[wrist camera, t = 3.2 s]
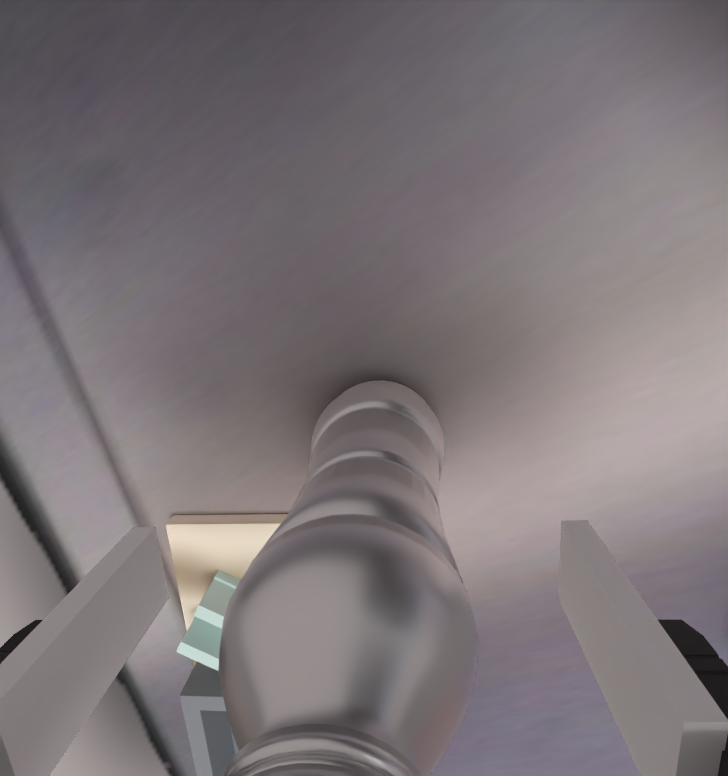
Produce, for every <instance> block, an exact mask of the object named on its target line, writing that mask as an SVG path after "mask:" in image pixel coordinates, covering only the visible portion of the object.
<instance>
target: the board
mask: <svg viewBox="0 0 728 776" xmlns="http://www.w3.org/2000/svg"><path fill="white" fill-rule="evenodd" d="M287 515H288V514H242V515H174V516H173V517H172V518H171V519H170V520H169V521H168V522H167V524H166V529H167V534H168V539H169V544H170V549H171V554H172V559H173V564H174V569H175V574H176V579H177V584H178V589H179V594H180V599H181V604H182V609H183V614H184V619H185V624H186V629H187V630H188V628H189V627H190V625H191V623H192V621H193V620H194V618H195V616H194V613H195V611H196V609H197V607H198V605H199V603H200V602H201V600H202V598H203V596H204V595H205V593H206V591H207V590H208V588H209V586H210V584H211V583H212V581H213V579H214V577H215V575H216V574H217V572H218V570H221V571H223V572H225V573H227V574H229V575H231V576H233V577H235V578H238V579H240V580H241V579H242V577H243V576H244V574H245V573H246V571H247V569H248V567H249V566H250V564H251V562H252V561H253V559H254V558H255V557H256V556H257V555H258V553H259V552H260V550H261V549H262V548H263V546H264V545H265V544H266V542H267V541H268V540H269V538H270V537H271V536H272V535H273V533H274V532H275V531H276V529H277V528H278V527H279V525H280V524H281V523H282V521H283V520H284V519H285V517H286V516H287ZM192 660H193V659H192ZM196 662H197V661H195V660H193V665H194V666H195V664H196Z"/></svg>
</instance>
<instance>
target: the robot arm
mask: <svg viewBox="0 0 728 776" xmlns="http://www.w3.org/2000/svg"><path fill="white" fill-rule="evenodd" d="M168 598H169V594H168V589H167V584H166V579H165V574H164V569H163V564H162V559H161V554H160V549H159V544H158V539H157V534H156V529H155V527H133V528H132V529H131V530H130V531H129V532H128V533H127V534H126V535H125V536H124V537H123V538H122V539H121V541H120V542H119V543H118V544H117V545H116V546H115V547H114V548H113V549H112V550H111V551H110V552H109V553H108V554H107V555H106V556H105V557H104V558H103V559H102V560H101V561H100V562H99V563H98V564H97V565H96V566H95V567H94V568H93V569H92V570H91V571H90V572H89V573H88V574H87V575H86V576H85V577H84V578H83V580H82V581H81V582H80V583H79V584H78V585H77V586H76V587H75V588H74V589H73V590H72V591H71V592H70V593H69V594H68V595H67V596H66V597H65V598H64V599H63V600H62V601H61V602H60V603H59V604H58V605H57V606H56V607H55V608H54V609H53V610H52V611H51V613H49V614H48V615H47V617H46V618H45V619H44V620H35V621H33V622H32V623H30V624H29V625H27V626H26V627H25V628H23V629H21V630H20V631H19V632H17V633H15V634H14V635H13V636H12V637H11V638H10V639H9V640H8V641H7V642H6V643H5V644H4V645H3V646H2V647H1V648H0V776H49V775H50V774H51V772H52V771H53V770H54V768H55V767H56V765H57V763H58V762H59V760H60V759H61V758H62V756H63V755H64V753H65V752H66V750H67V749H68V747H69V746H70V744H71V743H72V741H73V740H74V738H75V737H76V735H77V734H78V732H79V731H80V729H81V728H82V726H83V725H84V723H85V722H86V720H87V719H88V717H89V716H90V714H91V713H92V711H93V710H94V708H95V707H96V705H97V704H98V702H99V701H100V700H101V698H102V697H103V695H104V694H105V692H106V691H107V689H108V688H109V686H110V685H111V683H112V681H113V680H114V679H115V677H116V676H117V674H118V673H119V671H120V670H121V668H122V667H123V665H124V664H125V662H126V661H127V659H128V658H129V656H130V655H131V653H132V652H133V650H134V649H135V647H136V646H137V644H138V643H139V641H140V640H141V638H142V637H143V635H144V634H145V633H146V631H147V630H148V628H149V627H150V625H151V624H152V622H153V621H154V619H155V618H156V616H157V615H158V613H159V612H160V610H161V609H162V607H163V606H164V604H165V603H166V601H167V600H168ZM558 598H559V600H560V602H561V605H562V607H563V609H564V611H565V613H566V615H567V618H568V620H569V622H570V624H571V626H572V628H573V631H574V633H575V635H576V637H577V639H578V641H579V644H580V646H581V648H582V650H583V652H584V654H585V657H586V659H587V661H588V663H589V665H590V667H591V670H592V672H593V674H594V676H595V678H596V680H597V683H598V685H599V687H600V689H601V691H602V693H603V696H604V698H605V700H606V702H607V704H608V706H609V709H610V711H611V713H612V715H613V717H614V719H615V722H616V724H617V726H618V728H619V730H620V732H621V735H622V737H623V739H624V741H625V743H626V745H627V748H628V750H629V752H630V754H631V756H632V758H633V761H634V763H635V765H636V767H637V769H638V771H639V774H640V776H728V666H727V665H726V664H725V663H724V661H723V660H722V659H719V656H718V654H717V653H716V651H715V650H714V649H713V648H712V646H711V645H710V644H709V643H708V641H707V640H706V639H705V638H704V636H703V635H701V634H700V633H699V632H697V631H696V630H695V629H693V628H692V627H691V626H689V625H688V624H686V623H685V622H684V621H682V620H657V619H656V617H655V616H654V614H653V613H652V611H651V610H650V609H649V607H648V606H647V604H646V603H645V601H644V600H643V599H642V597H641V596H640V594H639V593H638V592H637V590H636V589H635V587H634V586H633V584H632V583H631V582H630V580H629V579H628V577H627V576H626V574H625V573H624V572H623V570H622V569H621V567H620V566H619V565H618V563H617V562H616V560H615V559H614V557H613V556H612V555H611V553H610V552H609V550H608V549H607V548H606V546H605V545H604V543H603V542H602V540H601V539H600V538H599V536H598V535H597V533H596V532H595V530H594V529H593V528H592V526H591V525H590V523H589V522H588V521H587V520H576V521H562V525H561V543H560V562H559V580H558Z"/></svg>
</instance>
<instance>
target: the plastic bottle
mask: <svg viewBox="0 0 728 776" xmlns="http://www.w3.org/2000/svg"><path fill="white" fill-rule="evenodd" d="M443 458H444V437H443V433H442V428H441V425H440V423H439V421H438V419H437V417H436V415H435V414H434V412H433V411H432V410H431V408H430V407H429V406H428V404H427V403H426V402H425V400H424V399H423V398H422V397H421V396H419V395H418V394H417V393H416V392H415V391H413V390H411V389H410V388H408V387H406V386H404V385H401V384H398V383H395V382H391V381H383V380H379V381H368V382H364V383H361V384H357V385H355V386H353V387H351V388H349V389H347V390H346V391H345V392H343V393H342V394H341V395H339V396H338V397H337V398H336V399H334V400H333V401H332V402H331V403H330V404H329V405H328V406H327V407H326V408H325V410H324V411H323V412H322V414H321V415H320V417H319V419H318V421H317V423H316V426H315V429H314V432H313V435H312V441H311V447H310V457H309V468H308V472H307V476H306V480H305V484H304V486H303V488H302V490H301V491H300V493H299V495H298V497H297V499H296V501H295V502H294V504H293V506H292V508H291V510H290V512H289V513H288V515H287V516H286V517H285V519H284V520H283V521H282V523H281V524H280V525H279V527H278V528H277V529H276V531H275V532H274V533H273V535H272V536H271V537H270V538H269V540H268V541H267V542H266V544H265V545H264V546H263V548H262V549H261V550H260V552H259V553H258V555H257V556H256V557H255V558H254V559H253V561H252V562H251V564H250V566H249V567H248V569H247V571H246V573H245V574H244V576H243V577H242V579H241V580H240V582H239V584H238V586H237V587H236V589H235V591H234V593H233V594H232V596H231V598H230V600H229V602H228V606H227V609H226V612H225V616H224V619H223V626H222V634H221V642H220V650H219V668H218V673H219V678H220V684H221V689H222V694H223V699H224V703H225V708H226V712H227V717H228V721H229V725H230V728H231V731H232V734H233V736H234V739H235V742H236V744H237V747H238V750H239V752H238V753H237V754H236V755H235V756H234V757H233V759H232V760H231V762H230V763H229V765H228V766H227V768H226V770H225V773H224V776H429V775H430V774H431V772H432V771H433V770H434V768H435V767H436V766H437V764H438V763H439V762H440V760H441V759H442V757H443V755H444V753H445V752H446V750H447V748H448V746H449V744H450V743H451V741H452V739H453V737H454V735H455V734H456V732H457V730H458V728H459V726H460V724H461V723H462V721H463V719H464V717H465V715H466V713H467V711H468V707H469V703H470V699H471V695H472V691H473V686H474V680H475V674H476V669H477V663H478V634H477V630H476V626H475V622H474V618H473V614H472V610H471V607H470V603H469V599H468V595H467V591H466V589H465V587H464V585H463V581H462V579H461V576H460V574H459V571H458V568H457V566H456V563H455V560H454V558H453V555H452V553H451V550H450V547H449V545H448V542H447V539H446V537H445V534H444V529H443V525H442V520H441V516H440V510H439V506H438V482H439V479H440V476H441V470H442V465H443Z"/></svg>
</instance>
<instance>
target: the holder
mask: <svg viewBox="0 0 728 776" xmlns="http://www.w3.org/2000/svg"><path fill="white" fill-rule="evenodd" d="M180 700H181V704H182V709H183V714H184V719H185V723H186V728H187V733H188V737H189V742H190V747H191V751H192V756H193V761H194V765H195V770H196V775H197V776H224V773H225V770H226V768H227V766H228V765H229V763H230V762H231V760H232V759H233V757H234V756H235V755H236V754H237V753H238V752H239V750H238V747H237V744H236V742H235V739H234V736H233V734H232V731H231V728H230V725H229V721H228V717H227V712H226V708H225V703H224V699H223V694H222V689H221V684H220V678H219V673H218V671H217V670H215V669H213V668H210V667H208V666H206V665H204V664H202V663H199V662H196V664H195V666H194V668H193V670H192V672H191V674H190V676H189V678H188V680H187V682H186V684H185V686H184V688H183V690H182V692H181V694H180Z"/></svg>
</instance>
